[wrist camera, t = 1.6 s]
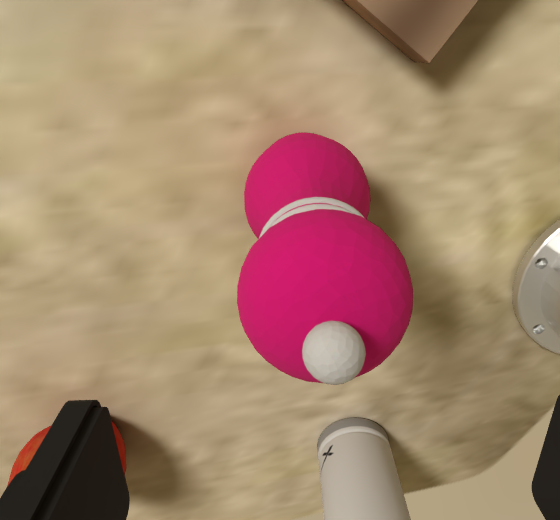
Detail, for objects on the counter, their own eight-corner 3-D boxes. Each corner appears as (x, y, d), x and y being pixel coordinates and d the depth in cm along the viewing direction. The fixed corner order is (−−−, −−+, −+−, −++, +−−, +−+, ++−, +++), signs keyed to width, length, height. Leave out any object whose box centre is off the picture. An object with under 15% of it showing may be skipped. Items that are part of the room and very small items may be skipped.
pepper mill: (290, 100, 28) (308, 186, 10) (379, 166, 30) (535, 344, 12) (228, 193, 30) (150, 398, 12) (314, 249, 32) (357, 503, 14)
